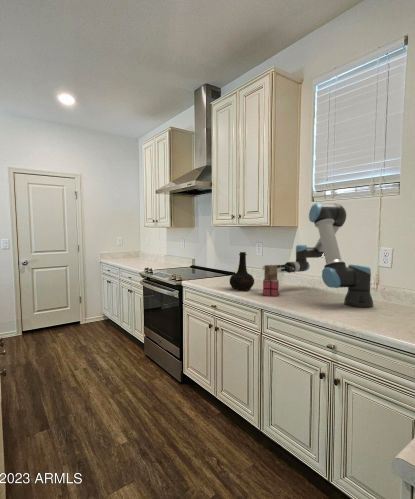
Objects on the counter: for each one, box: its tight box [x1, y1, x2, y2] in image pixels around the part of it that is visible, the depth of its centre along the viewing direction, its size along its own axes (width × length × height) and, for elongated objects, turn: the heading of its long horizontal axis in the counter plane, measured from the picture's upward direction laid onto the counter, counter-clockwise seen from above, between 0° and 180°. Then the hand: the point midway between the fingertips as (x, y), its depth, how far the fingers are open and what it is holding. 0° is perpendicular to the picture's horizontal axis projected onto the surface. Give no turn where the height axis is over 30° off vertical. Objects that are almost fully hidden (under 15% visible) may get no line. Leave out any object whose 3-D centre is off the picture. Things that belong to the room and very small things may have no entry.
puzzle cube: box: [262, 278, 279, 297], centre depth 202 cm, size 10×10×10 cm
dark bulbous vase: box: [229, 251, 255, 292], centre depth 219 cm, size 18×18×28 cm
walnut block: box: [263, 264, 278, 281], centre depth 202 cm, size 6×6×10 cm
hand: (269, 269), depth 201 cm, fingers open, 13 cm apart
